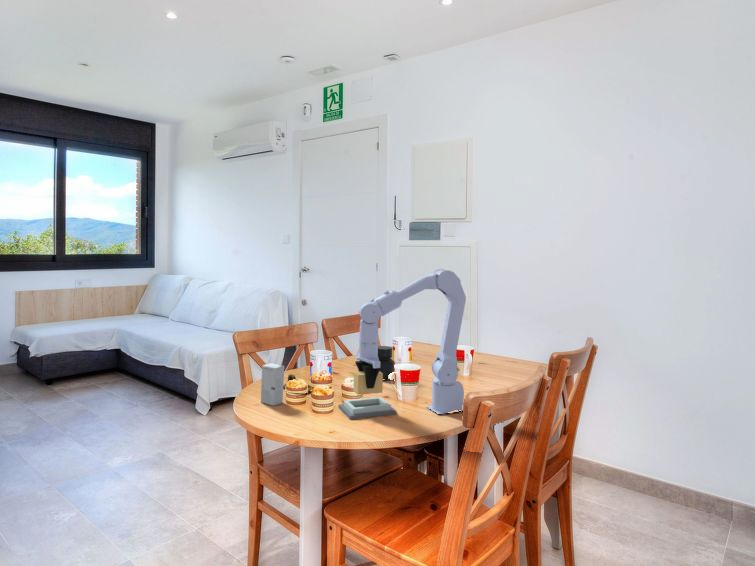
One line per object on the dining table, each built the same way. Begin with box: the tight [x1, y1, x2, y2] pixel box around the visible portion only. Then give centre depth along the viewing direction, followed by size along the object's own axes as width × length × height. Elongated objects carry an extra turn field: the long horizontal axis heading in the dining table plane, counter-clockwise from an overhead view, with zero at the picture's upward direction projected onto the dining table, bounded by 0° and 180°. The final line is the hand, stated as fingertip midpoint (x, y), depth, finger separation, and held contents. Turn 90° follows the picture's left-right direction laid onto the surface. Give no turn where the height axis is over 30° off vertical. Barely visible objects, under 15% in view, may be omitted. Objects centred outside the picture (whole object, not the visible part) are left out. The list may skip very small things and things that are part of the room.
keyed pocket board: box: [337, 396, 397, 420], centre depth 147 cm, size 15×11×2 cm
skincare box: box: [260, 362, 285, 406], centre depth 152 cm, size 6×4×12 cm
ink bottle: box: [378, 345, 396, 379], centre depth 186 cm, size 10×9×12 cm
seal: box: [283, 374, 312, 394], centre depth 169 cm, size 9×5×15 cm
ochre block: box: [353, 371, 384, 396], centre depth 147 cm, size 4×8×6 cm, turn 112°
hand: (367, 386), depth 147 cm, fingers closed on ochre block, 4 cm apart
